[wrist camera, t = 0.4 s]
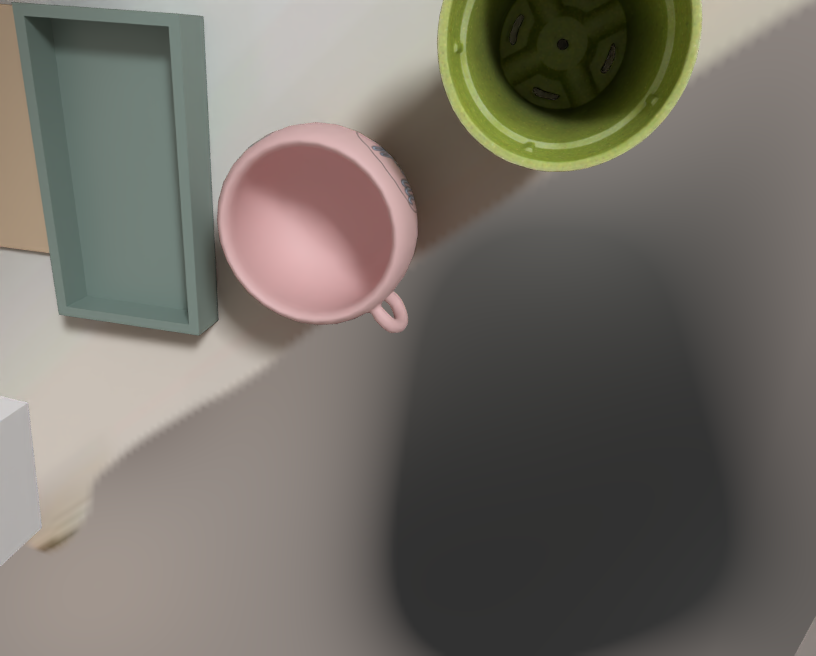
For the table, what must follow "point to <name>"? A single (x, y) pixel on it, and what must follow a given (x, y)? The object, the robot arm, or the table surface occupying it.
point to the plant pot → (565, 74)
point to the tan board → (17, 152)
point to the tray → (123, 162)
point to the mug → (319, 225)
